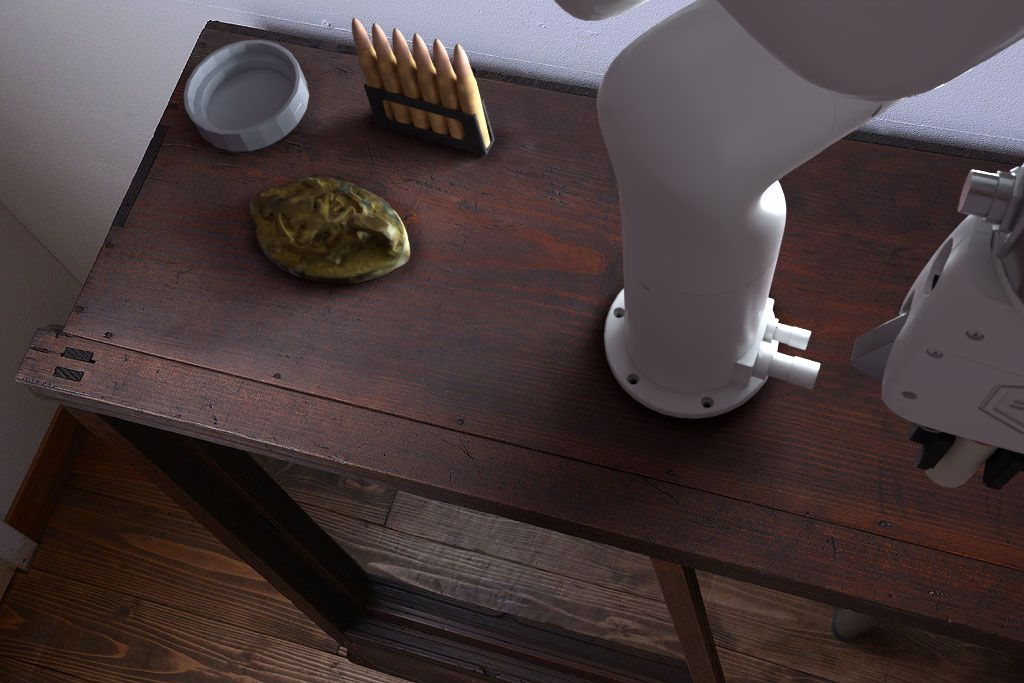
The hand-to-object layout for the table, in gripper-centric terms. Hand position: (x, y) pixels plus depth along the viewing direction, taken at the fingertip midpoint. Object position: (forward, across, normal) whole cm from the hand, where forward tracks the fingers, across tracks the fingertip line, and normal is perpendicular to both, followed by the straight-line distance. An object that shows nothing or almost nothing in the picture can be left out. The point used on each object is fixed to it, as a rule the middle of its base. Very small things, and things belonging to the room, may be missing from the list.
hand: (962, 448), depth 45 cm
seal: (+21, -46, +13) cm, 52 cm away
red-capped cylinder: (+3, 0, 0) cm, 3 cm away
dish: (+21, -58, +23) cm, 66 cm away
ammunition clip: (+21, -41, +25) cm, 53 cm away
